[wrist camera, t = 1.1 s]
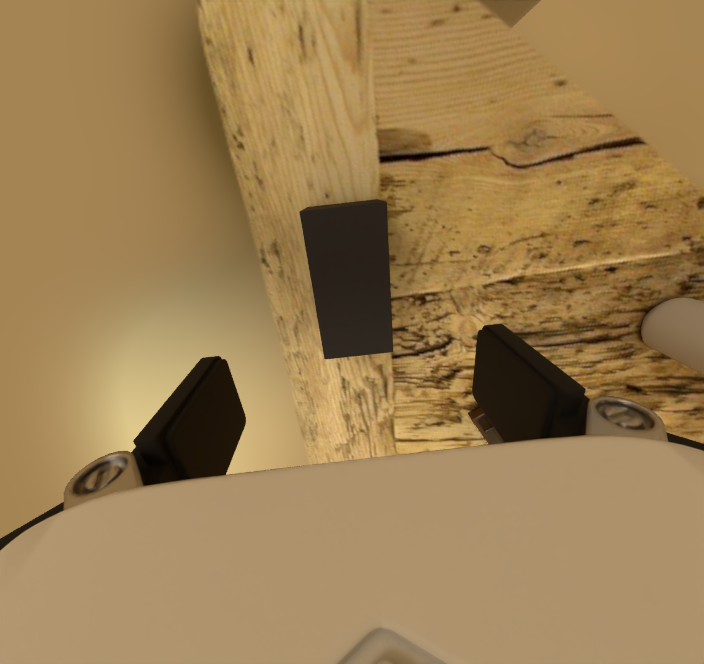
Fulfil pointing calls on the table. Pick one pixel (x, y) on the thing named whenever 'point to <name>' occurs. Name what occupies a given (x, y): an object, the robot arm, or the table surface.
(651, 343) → the beverage can
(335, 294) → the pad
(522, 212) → the table surface
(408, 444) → the table surface
